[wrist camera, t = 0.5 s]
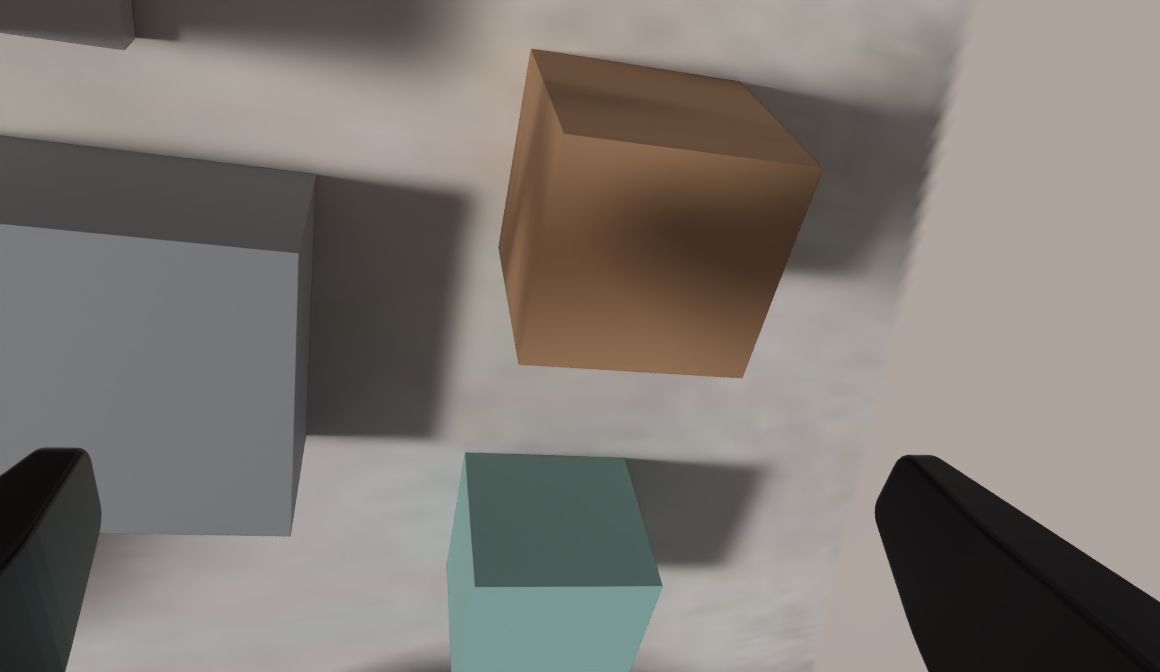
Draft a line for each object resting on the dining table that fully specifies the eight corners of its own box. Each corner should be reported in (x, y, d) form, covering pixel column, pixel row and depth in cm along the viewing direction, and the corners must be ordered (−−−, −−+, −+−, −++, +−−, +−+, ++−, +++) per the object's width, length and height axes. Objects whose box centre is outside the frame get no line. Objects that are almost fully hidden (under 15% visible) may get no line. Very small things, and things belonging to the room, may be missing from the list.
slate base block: (307, 429, 24) (290, 536, 20) (-15, 413, 22) (-89, 529, 18) (317, 169, 19) (298, 253, 16) (-83, 119, 17) (-196, 204, 14)
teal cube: (591, 562, 29) (620, 695, 25) (446, 562, 28) (452, 701, 24) (623, 456, 26) (662, 586, 22) (464, 450, 25) (474, 587, 21)
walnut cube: (682, 263, 22) (742, 378, 18) (498, 245, 21) (518, 364, 17) (738, 80, 20) (823, 167, 16) (530, 48, 18) (563, 133, 14)
